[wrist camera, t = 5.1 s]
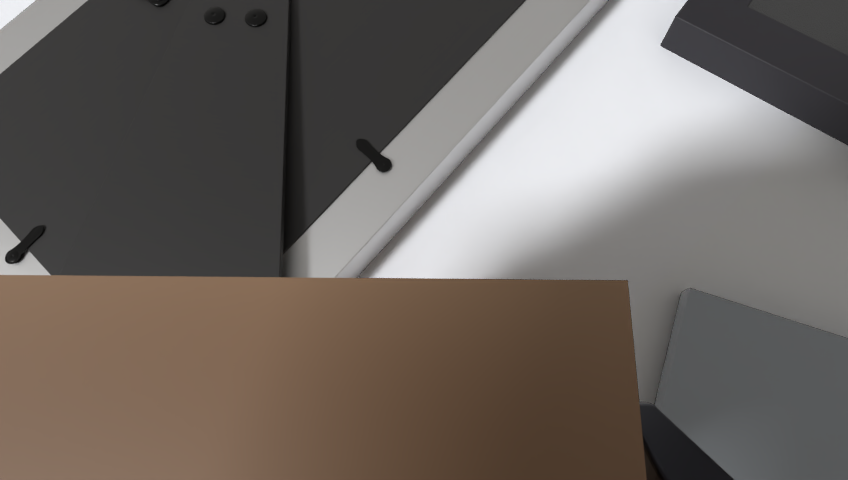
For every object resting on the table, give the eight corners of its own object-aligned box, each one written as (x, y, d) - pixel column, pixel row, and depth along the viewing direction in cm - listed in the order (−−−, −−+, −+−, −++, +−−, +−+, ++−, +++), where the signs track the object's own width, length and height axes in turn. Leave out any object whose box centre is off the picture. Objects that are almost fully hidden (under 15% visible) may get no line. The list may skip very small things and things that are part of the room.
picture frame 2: (190, 471, 15) (608, 9, 19) (129, 485, 12) (632, -58, 16) (-73, 167, 19) (311, -161, 23) (-161, 128, 17) (290, -236, 20)
